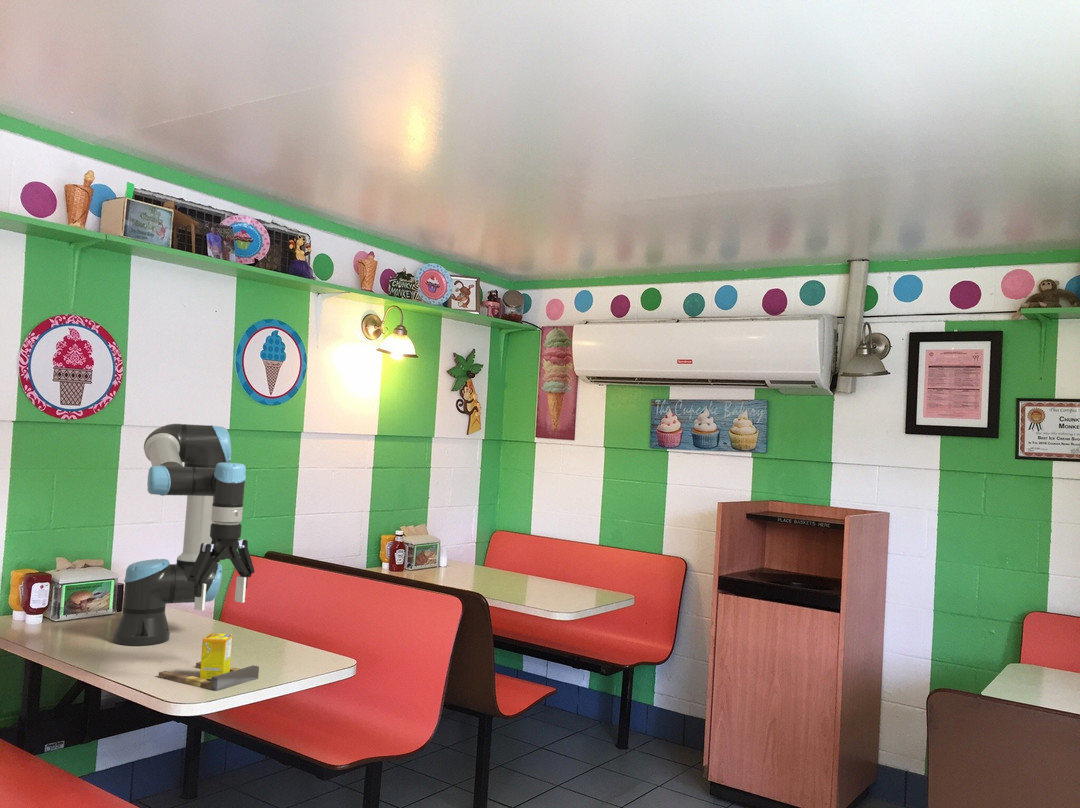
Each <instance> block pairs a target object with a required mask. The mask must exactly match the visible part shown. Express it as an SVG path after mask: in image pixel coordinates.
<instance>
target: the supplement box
mask: <svg viewBox="0 0 1080 808" xmlns="http://www.w3.org/2000/svg"><path fill="white" fill-rule="evenodd" d="M232 644H233V634H232V633H217V632H216V633H215V632H213V633H209V634H207V635H206V636H204V637H203V638H202V646H201V657H200V658H201V659H200V662H201V668H200V669H199V670H200V671H199V672H200V673H199V678H203V679H207V680H208V681H211V679H212V677H214V676H217V675H221V674H224V673H228V672H230V667H231V661H232V659H231V658H232V648H233V647H232Z"/></svg>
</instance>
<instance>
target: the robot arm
mask: <svg viewBox="0 0 1080 808" xmlns="http://www.w3.org/2000/svg"><path fill="white" fill-rule="evenodd" d="M144 440H145V441H144V444H143V451H144V454H145V457H146V459H147V460H148V461H149V462H150V463H151V466H150V468H149V469H148V474H147V486H146V487H147V488H146V489H147V490H146V491H147V493H148V494H150V495H156V496H157V495H158V496H161V497H162V496H163V497H164V496H186V507H185V521H184V532H183V535H184V536H183V546H182V552H181V553H180V554H179V555H178V556H177V557H176V563H173V564H172V563H171V564H170V560H169V559H167V558H166V559H165V558H160V559H159V558H155V559H154V558H153V559H146V560H141V561H136V562H133V563H131V564H130V565H128V566H127V568H126V569H125V577H124V579H123V582H124V587H123V588H124V589H123V590H124V591H123V599H122V600H123V602H122V603H123V604H122V611H121V616H120V619H119V621H118V624H117V627H116V630H115V631H114V633H113V642H114V643H115V644H118V645H124V646H150V645H157V644H162V643H164V642H167V641H169V640H170V635H171V634H170V633H171V631H170V628H169V623H168V621H167V616H166V615H167V614H166V605H167V604H184V603H185V604H187V603H189V604H190V603H194V605H193V606H194V607H193V610H197V611H205V608H206V607H205V606H206V602H208V603H210V602H212V601H214V600H215V599H216V597H217V596H218V594H219V591H220V587H221V584H222V579H223V565H222V564H221V563H219V562H220V561H224V560H229V561H230V562H231V563H232V565H233V567H234V568H235V570H236V572H237V573H238V576H236V582H235V592H234V602H237V603H245V602H246V600H245V599H246V590H247V588H248V578H251V577H252V575H253V574H254V573H255V568H254V565H253V561H252V558H251V554H250V551H249V547H248V546H249V545H248V543H249V541H248V539H241V538H242V537H241V536H242V524H241V522H243V521H242V520H243V511H244V510H243V508H244V499H245V498H244V497H245V486H246V485H245V484H246V480H247V479H246V478H247V475H246V471H247V469H246V465H245V464H243V463H239V462H231V460H232V443H231V437H230V433H229V431H228V429H227V428H225V427H224V426H218V425H203V424H189V423H188V424H186V423H185V424H184V423H169V424H165V425H163V426H160V427H158V428H155V430H153V431H152V432H151V433H149V434H148V436H147V437H146V439H144ZM183 463H184V464H183Z"/></svg>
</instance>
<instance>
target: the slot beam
mask: <svg viewBox="0 0 1080 808" xmlns="http://www.w3.org/2000/svg"><path fill="white" fill-rule="evenodd" d="M195 668H196V669H201V661H199V662H198V661H197V662H196V663H195ZM259 670H260V667H259V666H258V665H249V666H246V667H243V668H237V667H235V666H234V667H232V666H230V672H228V673H224V674H221V675H217V676H214V677H212V679H211V681H208V680H207V679H203V678H200V677H198V676H194V675H191V676H190V675H185V674H182V673H176V672H172V671H167V670H163V671H160V672H158V678H160V679H164V680H168V681H173V682H177V683H181V684H187V685H189V686H190V685H191V686H194V687H199V688H203V689H208V690H211V691H216V692H217V691H220V690H224V689H227V688H232V687H234V686H237V685H240V684H243V683H247V682H250V681H254V680H256V679H257V680H258V679H259V672H260V671H259Z"/></svg>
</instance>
